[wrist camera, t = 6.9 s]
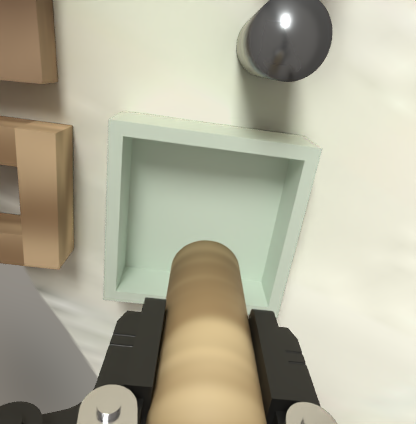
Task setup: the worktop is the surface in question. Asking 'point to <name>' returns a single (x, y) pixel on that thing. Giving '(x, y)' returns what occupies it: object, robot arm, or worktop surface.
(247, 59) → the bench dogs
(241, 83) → the worktop surface
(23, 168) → the holder block
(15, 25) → the plate
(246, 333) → the dowel
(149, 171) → the tray
